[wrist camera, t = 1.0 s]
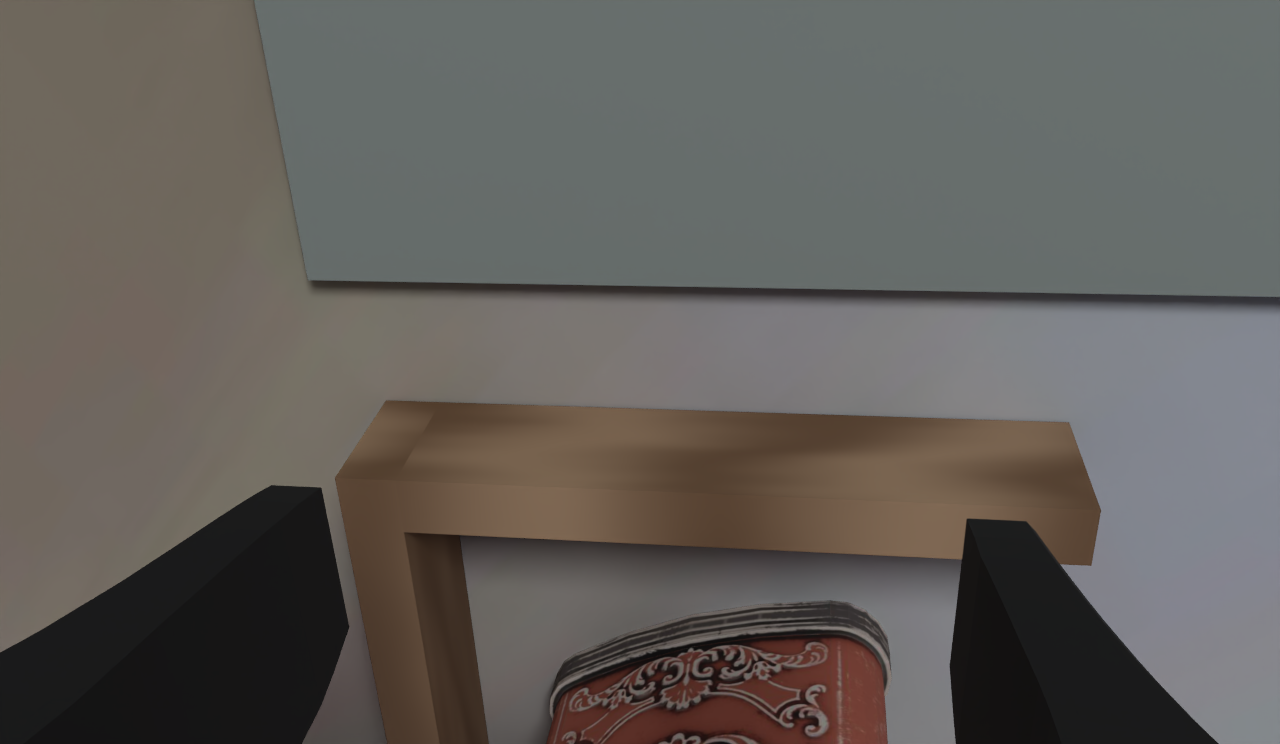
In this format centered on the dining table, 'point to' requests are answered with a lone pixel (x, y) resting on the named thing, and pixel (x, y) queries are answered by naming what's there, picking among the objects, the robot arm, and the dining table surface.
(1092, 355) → the dining table surface
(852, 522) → the wooden u-shaped frame
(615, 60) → the mat
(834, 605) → the lighter
